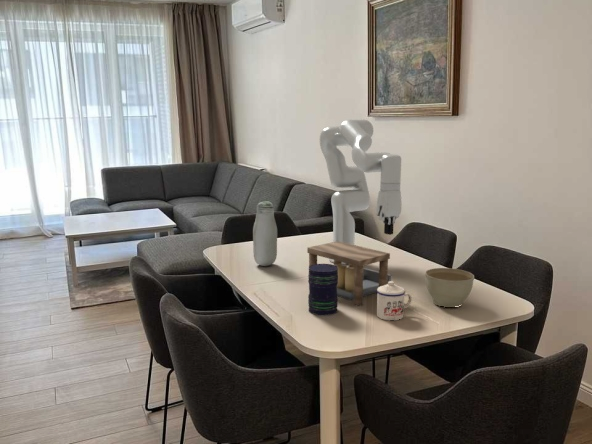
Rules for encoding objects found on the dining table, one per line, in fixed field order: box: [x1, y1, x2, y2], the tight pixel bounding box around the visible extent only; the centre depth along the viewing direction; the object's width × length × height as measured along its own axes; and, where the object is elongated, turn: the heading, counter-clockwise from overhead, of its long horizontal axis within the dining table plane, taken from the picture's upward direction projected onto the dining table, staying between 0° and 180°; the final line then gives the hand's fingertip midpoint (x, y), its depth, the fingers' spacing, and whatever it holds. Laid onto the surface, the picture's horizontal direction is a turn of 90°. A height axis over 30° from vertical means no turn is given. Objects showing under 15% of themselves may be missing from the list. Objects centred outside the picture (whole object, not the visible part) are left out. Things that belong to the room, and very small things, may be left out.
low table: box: [306, 241, 391, 307], centre depth 208 cm, size 16×26×16 cm, turn 41°
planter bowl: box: [425, 267, 475, 308], centre depth 195 cm, size 16×16×11 cm
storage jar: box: [307, 263, 339, 317], centre depth 189 cm, size 10×10×15 cm
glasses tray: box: [333, 263, 392, 301], centre depth 212 cm, size 22×13×10 cm, turn 132°
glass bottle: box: [252, 200, 278, 267], centre depth 244 cm, size 10×10×28 cm
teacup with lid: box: [376, 280, 413, 321], centre depth 184 cm, size 12×9×12 cm
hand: (388, 233), depth 221 cm, fingers closed
